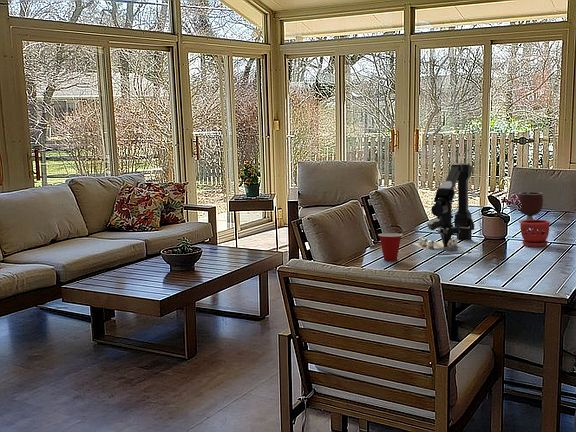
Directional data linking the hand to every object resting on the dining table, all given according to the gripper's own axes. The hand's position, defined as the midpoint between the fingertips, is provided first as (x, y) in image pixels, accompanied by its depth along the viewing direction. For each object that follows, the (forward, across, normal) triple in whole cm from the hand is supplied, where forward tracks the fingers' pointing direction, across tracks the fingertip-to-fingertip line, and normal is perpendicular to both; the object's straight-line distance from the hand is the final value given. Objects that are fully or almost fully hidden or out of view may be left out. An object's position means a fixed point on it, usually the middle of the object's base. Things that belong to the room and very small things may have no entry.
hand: (445, 245), depth 304 cm
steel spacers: (+1, -8, 0) cm, 8 cm away
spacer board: (+2, -9, 0) cm, 9 cm away
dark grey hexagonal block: (+2, +4, +1) cm, 4 cm away
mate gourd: (+3, -59, +80) cm, 99 cm away
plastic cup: (+2, +10, -31) cm, 33 cm away
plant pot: (+2, +2, +45) cm, 45 cm away
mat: (+2, +4, 0) cm, 4 cm away
